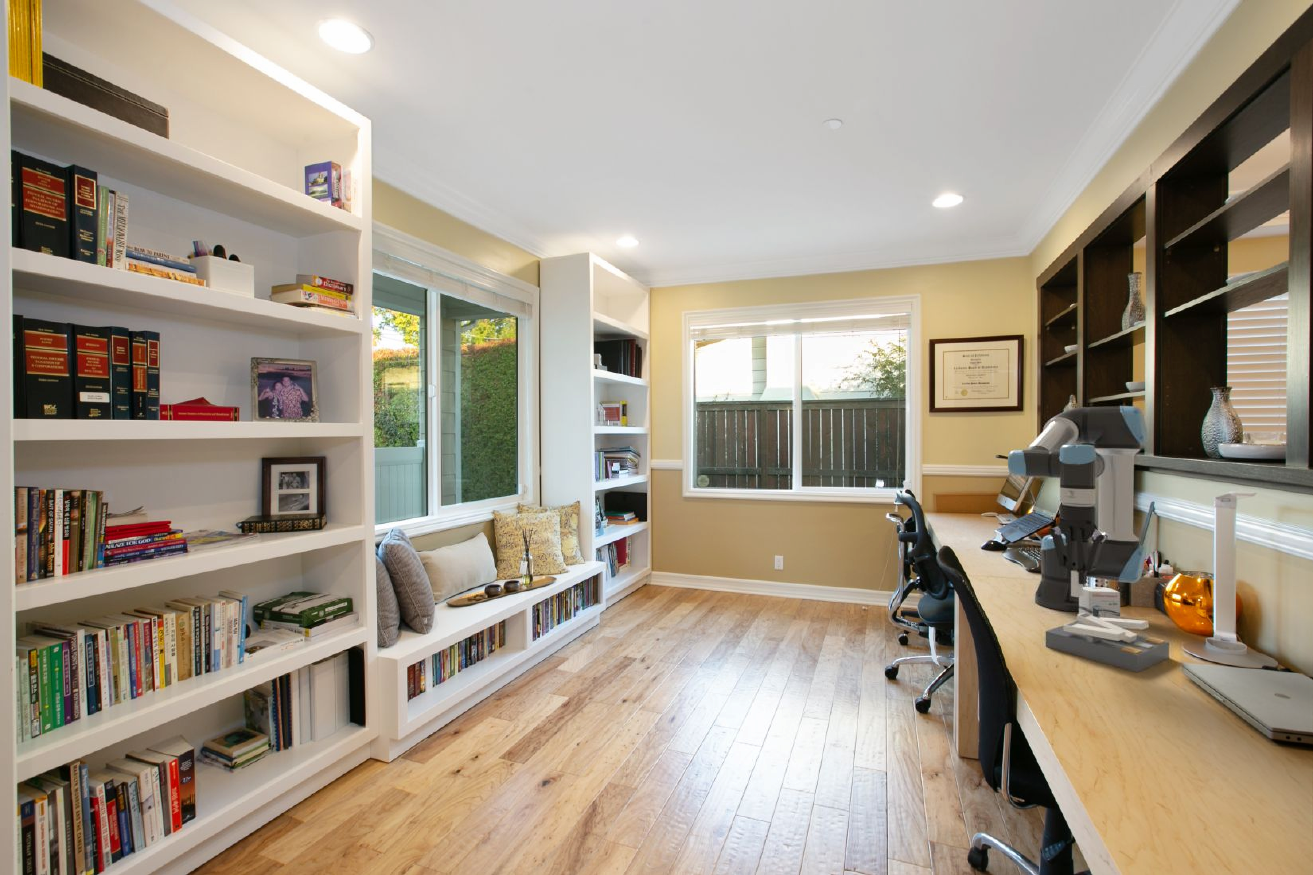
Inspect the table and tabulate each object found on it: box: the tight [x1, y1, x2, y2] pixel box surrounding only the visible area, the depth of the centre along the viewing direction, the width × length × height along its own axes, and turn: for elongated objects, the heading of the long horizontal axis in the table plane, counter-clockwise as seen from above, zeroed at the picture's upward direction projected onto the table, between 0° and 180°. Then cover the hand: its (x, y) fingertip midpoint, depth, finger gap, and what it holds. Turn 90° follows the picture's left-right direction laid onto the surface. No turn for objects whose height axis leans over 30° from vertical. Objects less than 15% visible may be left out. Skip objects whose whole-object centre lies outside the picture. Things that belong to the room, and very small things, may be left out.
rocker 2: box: [1075, 612, 1138, 643], centre depth 153 cm, size 4×12×2 cm, turn 31°
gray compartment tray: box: [1045, 620, 1170, 673], centre depth 153 cm, size 18×20×5 cm
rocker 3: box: [1097, 617, 1150, 630], centre depth 156 cm, size 4×12×2 cm, turn 31°
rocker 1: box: [1062, 622, 1126, 641], centre depth 150 cm, size 4×12×2 cm, turn 31°
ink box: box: [1078, 586, 1121, 619], centre depth 170 cm, size 9×5×12 cm, turn 84°
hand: (1076, 595), depth 153 cm, fingers closed
